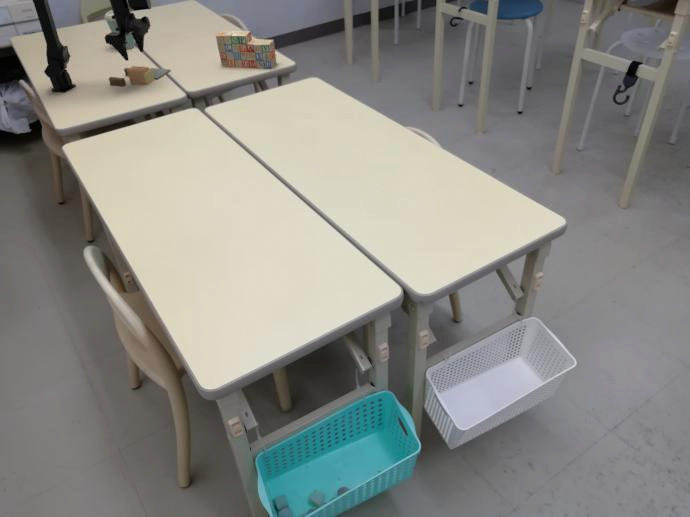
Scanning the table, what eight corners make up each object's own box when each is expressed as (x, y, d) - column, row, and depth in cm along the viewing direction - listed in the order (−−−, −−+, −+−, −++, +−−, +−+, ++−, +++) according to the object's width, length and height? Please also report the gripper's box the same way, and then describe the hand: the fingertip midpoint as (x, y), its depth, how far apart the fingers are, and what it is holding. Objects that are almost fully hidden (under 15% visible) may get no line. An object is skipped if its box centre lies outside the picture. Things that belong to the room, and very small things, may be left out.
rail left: (123, 86, 201) (121, 79, 200) (110, 84, 203) (108, 78, 201) (126, 84, 202) (124, 78, 201) (113, 83, 204) (110, 76, 202)
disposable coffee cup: (131, 51, 232) (120, 15, 222) (109, 51, 233) (97, 14, 224) (143, 43, 239) (133, 7, 230) (121, 43, 241) (111, 7, 232)
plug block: (148, 84, 201) (144, 71, 198) (130, 82, 203) (126, 69, 200) (154, 80, 204) (150, 67, 201) (136, 78, 206) (132, 66, 203)
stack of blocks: (277, 63, 213) (273, 31, 205) (271, 69, 208) (267, 36, 200) (227, 61, 217) (221, 29, 209) (221, 67, 213) (215, 35, 205)
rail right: (138, 76, 208) (136, 70, 206) (125, 75, 210) (123, 69, 208) (140, 75, 209) (139, 68, 207) (128, 74, 211) (126, 67, 209)
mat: (157, 79, 205) (157, 78, 204) (138, 77, 207) (137, 76, 207) (170, 71, 211) (170, 69, 211) (151, 69, 214) (151, 67, 213)
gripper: (124, 20, 179) (138, 66, 189) (156, 4, 192) (167, 48, 202) (97, 18, 182) (112, 64, 192) (130, 3, 195) (142, 47, 205)
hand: (134, 56), depth 198 cm, fingers open, 9 cm apart
